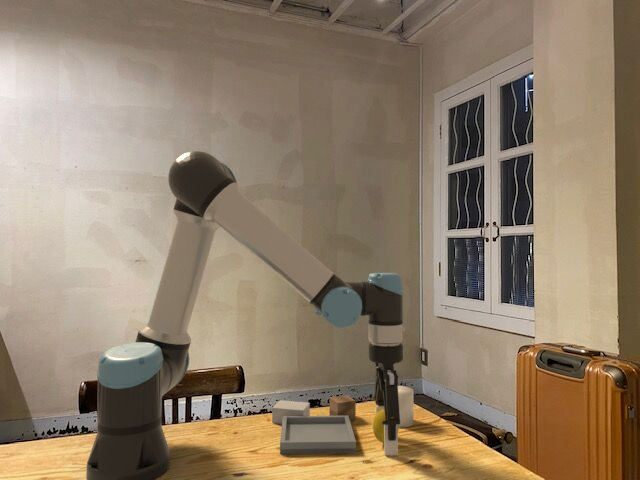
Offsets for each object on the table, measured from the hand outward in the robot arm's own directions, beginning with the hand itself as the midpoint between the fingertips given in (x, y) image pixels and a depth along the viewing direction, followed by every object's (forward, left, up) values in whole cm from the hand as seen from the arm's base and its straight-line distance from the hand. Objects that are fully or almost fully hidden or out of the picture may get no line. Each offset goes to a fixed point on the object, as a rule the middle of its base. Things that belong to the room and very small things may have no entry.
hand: (386, 443), depth 105 cm
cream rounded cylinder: (+6, +14, 0) cm, 15 cm away
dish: (-15, +4, 0) cm, 16 cm away
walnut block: (-8, +17, 0) cm, 19 cm away
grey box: (-21, +16, 0) cm, 27 cm away
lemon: (0, 0, 0) cm, 1 cm away
